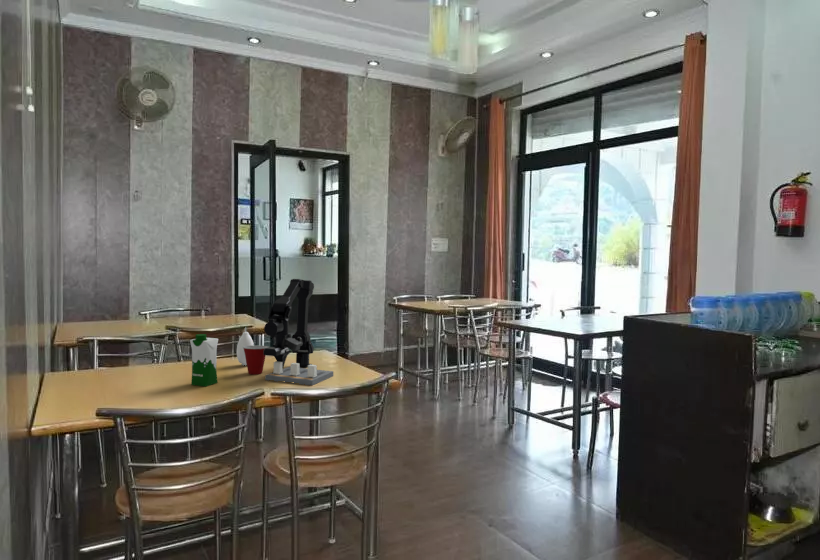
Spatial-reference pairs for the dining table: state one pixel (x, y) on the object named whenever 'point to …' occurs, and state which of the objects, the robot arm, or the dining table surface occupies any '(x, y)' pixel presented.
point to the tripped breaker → (278, 367)
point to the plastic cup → (254, 358)
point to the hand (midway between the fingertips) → (281, 368)
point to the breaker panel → (299, 376)
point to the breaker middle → (295, 369)
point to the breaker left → (312, 371)
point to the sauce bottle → (243, 341)
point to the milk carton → (204, 360)
